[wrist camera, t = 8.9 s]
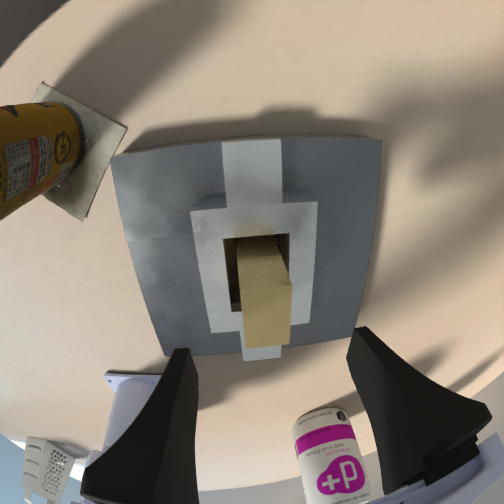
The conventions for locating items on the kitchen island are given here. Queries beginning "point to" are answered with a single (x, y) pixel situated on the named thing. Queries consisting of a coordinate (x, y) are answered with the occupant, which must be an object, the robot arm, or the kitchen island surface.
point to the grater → (45, 470)
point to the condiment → (53, 152)
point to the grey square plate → (183, 245)
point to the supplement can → (330, 459)
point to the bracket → (254, 233)
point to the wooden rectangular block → (263, 291)
